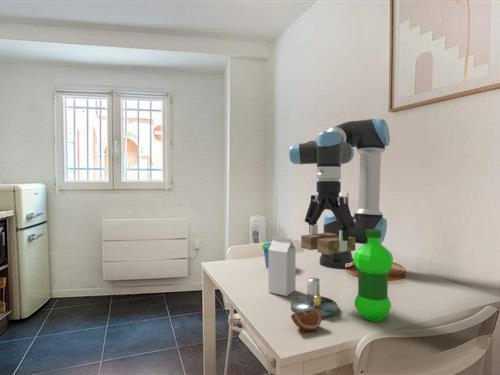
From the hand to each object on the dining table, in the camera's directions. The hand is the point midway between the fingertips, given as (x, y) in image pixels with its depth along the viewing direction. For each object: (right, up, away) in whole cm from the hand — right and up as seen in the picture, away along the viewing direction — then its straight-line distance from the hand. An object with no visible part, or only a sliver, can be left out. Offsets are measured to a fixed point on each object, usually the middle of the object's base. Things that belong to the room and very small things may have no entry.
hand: (327, 247), depth 108 cm
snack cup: (-14, -16, +40) cm, 45 cm away
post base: (-5, -18, -5) cm, 19 cm away
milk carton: (-14, -17, +10) cm, 24 cm away
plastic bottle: (+10, -18, -12) cm, 24 cm away
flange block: (0, 0, 0) cm, 0 cm away
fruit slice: (-10, -18, -18) cm, 28 cm away
